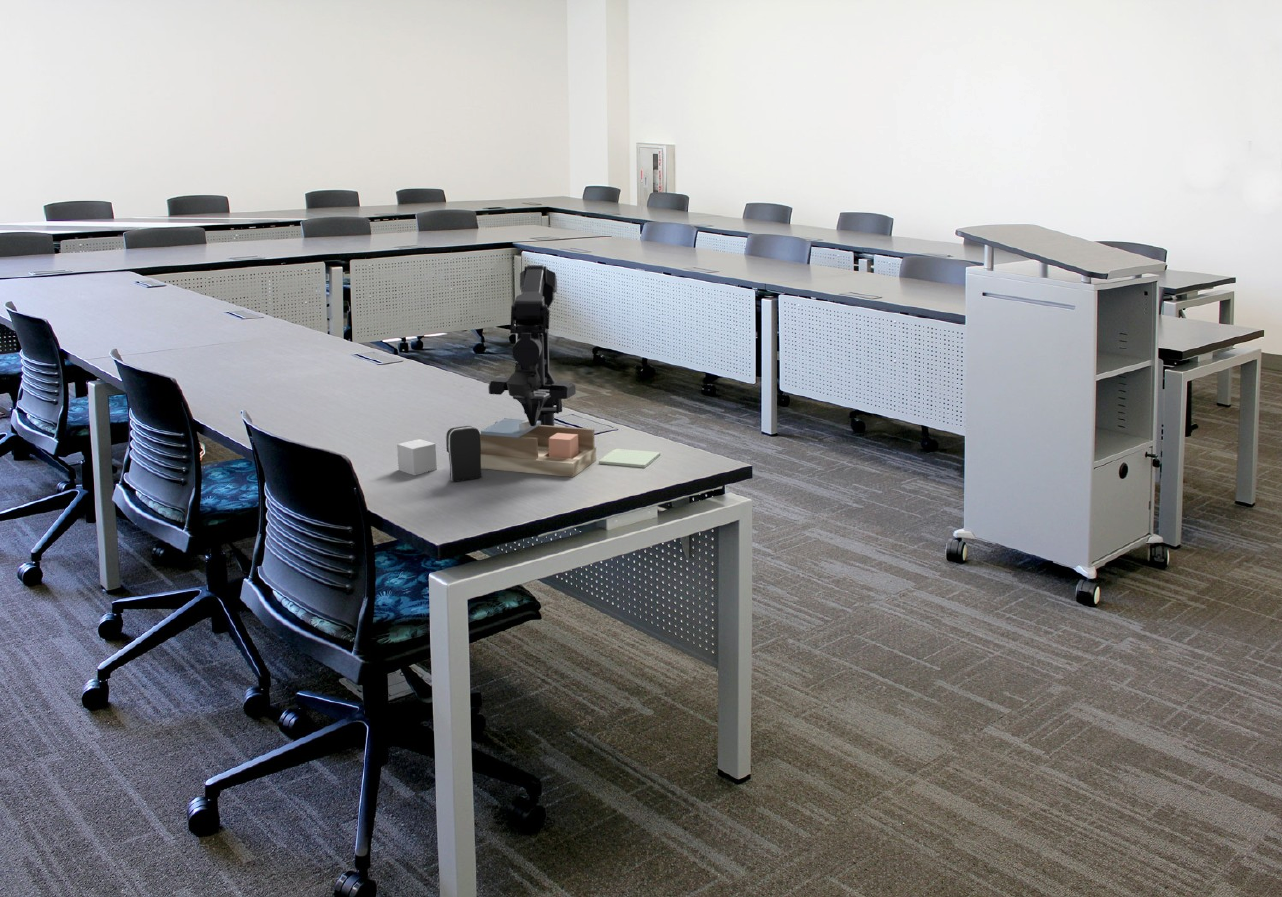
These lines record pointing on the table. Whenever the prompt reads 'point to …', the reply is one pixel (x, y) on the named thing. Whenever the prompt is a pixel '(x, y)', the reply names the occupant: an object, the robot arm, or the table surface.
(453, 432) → the battery charger
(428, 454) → the white cube
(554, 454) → the block
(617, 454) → the sage mat
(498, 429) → the cover
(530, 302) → the robot arm
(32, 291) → the table surface
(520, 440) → the open storage box
